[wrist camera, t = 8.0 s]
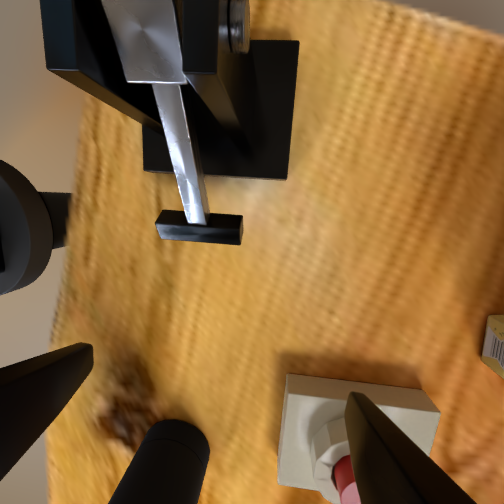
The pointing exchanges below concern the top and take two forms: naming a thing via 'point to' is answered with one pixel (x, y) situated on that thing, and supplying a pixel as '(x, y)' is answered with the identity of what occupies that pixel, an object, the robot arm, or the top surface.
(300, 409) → the button box
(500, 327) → the candy box
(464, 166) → the top surface
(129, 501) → the black bottle
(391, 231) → the top surface
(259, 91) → the bracket
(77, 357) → the robot arm
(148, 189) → the top surface
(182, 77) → the lever
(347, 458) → the button
